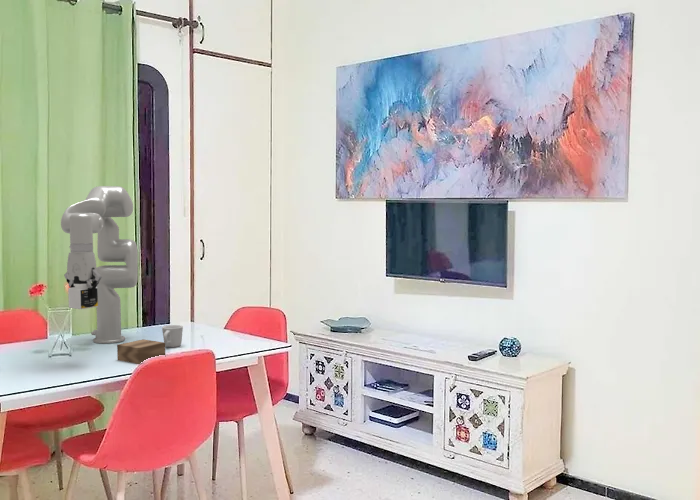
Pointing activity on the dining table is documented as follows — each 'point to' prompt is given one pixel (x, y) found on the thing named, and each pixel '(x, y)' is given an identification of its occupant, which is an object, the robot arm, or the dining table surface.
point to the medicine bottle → (81, 295)
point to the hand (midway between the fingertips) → (83, 297)
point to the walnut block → (139, 350)
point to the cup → (172, 335)
